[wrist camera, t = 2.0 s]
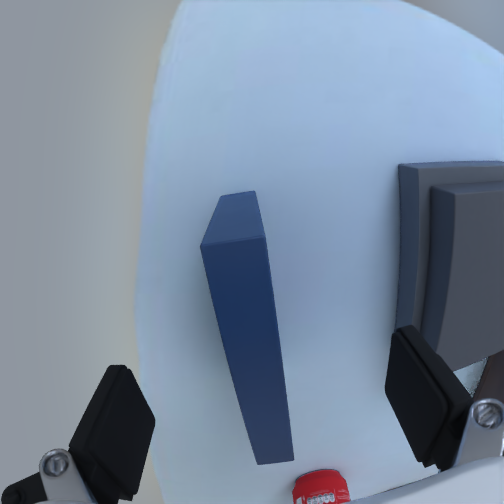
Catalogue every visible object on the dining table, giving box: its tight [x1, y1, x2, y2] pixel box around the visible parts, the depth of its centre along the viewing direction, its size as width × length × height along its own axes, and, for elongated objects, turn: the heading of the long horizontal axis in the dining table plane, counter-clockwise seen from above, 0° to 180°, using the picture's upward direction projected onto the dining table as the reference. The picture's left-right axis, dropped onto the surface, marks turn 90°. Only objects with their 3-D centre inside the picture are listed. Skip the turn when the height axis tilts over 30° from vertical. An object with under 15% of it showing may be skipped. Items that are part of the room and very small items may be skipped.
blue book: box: [200, 191, 294, 465], centre depth 12 cm, size 10×2×7 cm, turn 9°
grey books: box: [395, 161, 504, 372], centre depth 13 cm, size 11×8×4 cm
